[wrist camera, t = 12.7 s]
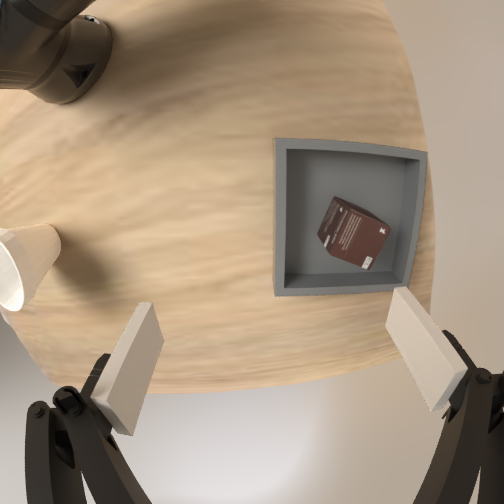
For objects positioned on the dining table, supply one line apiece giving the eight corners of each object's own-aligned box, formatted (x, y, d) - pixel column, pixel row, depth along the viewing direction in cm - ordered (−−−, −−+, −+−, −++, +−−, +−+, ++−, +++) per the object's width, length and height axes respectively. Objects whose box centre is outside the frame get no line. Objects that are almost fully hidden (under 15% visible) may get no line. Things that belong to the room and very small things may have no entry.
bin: (272, 138, 33) (275, 138, 29) (410, 149, 33) (427, 152, 28) (272, 280, 41) (274, 296, 36) (394, 275, 40) (407, 289, 36)
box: (333, 194, 35) (351, 207, 28) (370, 211, 36) (393, 227, 29) (315, 234, 37) (328, 255, 31) (351, 249, 38) (370, 271, 31)
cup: (35, 194, 36) (-20, 218, 23) (81, 234, 38) (29, 271, 26) (22, 247, 39) (-23, 278, 27) (63, 285, 42) (21, 326, 29)
